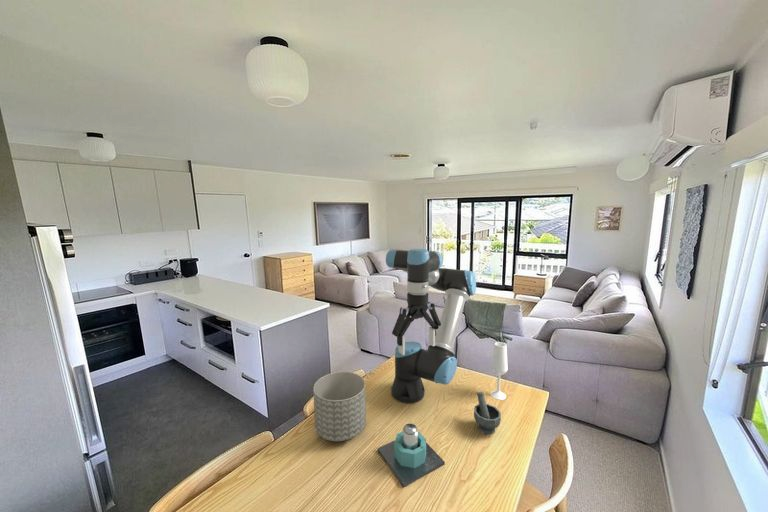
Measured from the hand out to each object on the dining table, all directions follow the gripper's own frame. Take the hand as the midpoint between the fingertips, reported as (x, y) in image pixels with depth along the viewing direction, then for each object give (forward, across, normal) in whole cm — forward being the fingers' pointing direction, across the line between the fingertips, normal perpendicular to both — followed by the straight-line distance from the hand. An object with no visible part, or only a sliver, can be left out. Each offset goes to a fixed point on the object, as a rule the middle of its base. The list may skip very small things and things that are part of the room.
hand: (417, 349), depth 107 cm
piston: (+32, -10, -10) cm, 35 cm away
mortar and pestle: (+32, +23, -13) cm, 41 cm away
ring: (+31, -10, -10) cm, 34 cm away
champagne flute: (+32, +44, -2) cm, 54 cm away
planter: (+32, -25, +14) cm, 43 cm away
